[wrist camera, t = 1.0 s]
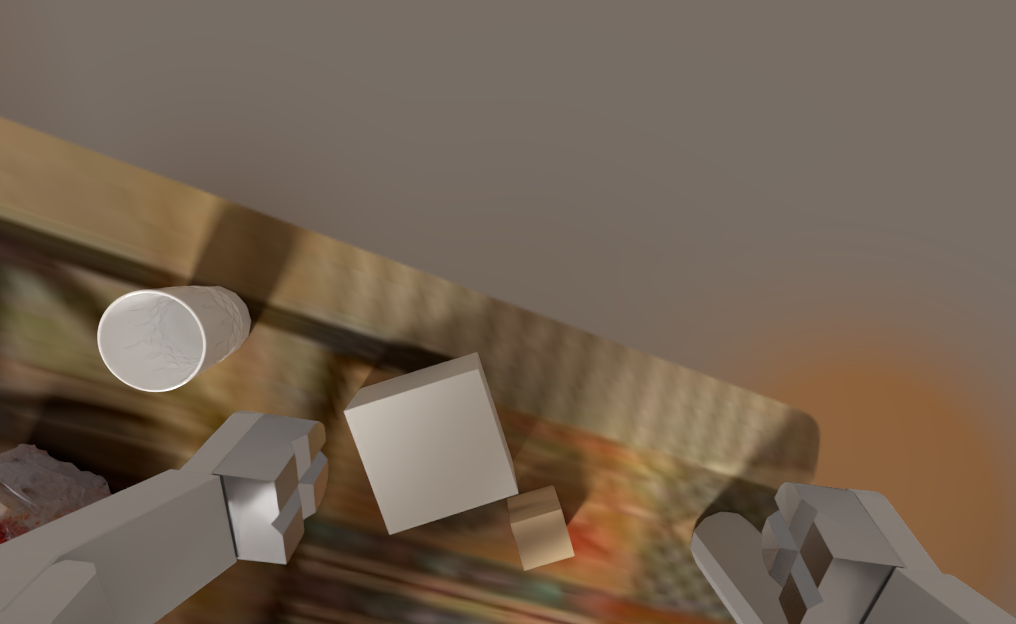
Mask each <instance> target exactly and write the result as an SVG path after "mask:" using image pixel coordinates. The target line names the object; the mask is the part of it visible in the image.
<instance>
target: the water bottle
mask: <svg viewBox="0 0 1016 624" xmlns="http://www.w3.org/2000/svg"><path fill="white" fill-rule="evenodd" d="M761 542H762V534H761V533H760V532H759V531H758V530H757V529H756V528H755V527H754V526H753V525H752V524H751V523H750V522H749V521H747V520H746V519H745V518H743V517H742V516H741V515H740V514H738V513H730V512H718V513H716V514H713V515H711V516H708V517H706V518H704V520H703V521H702V522H701V523H700V524H699V525H698V526H697V528H696V529H695V530H694V533H693V537H692V542H691V547H690V548H691V551H692V554H693V557H694V559H695V562H696V564H697V565H698V567H699V568H700V570H701V571H702V572H703V574H704V575H705V577H706V578H707V580H708V581H709V583H710V584H711V586H712V587H713V588H714V590H715V591H716V593H717V594H718V596H719V597H720V599H721V600H722V602H723V603H724V604H725V606H726V607H727V609H728V610H729V612H730V613H731V615H732V616H733V618H734V619H735V620H736V622H737V623H738V624H788V622H787V619H786V617H785V614H784V612H783V609H782V607H781V604H780V602H779V599H778V598H779V596H780V594H781V591H782V589H783V587H781V586H780V585H779V584H778V583H777V582H776V581H775V580H774V579H773V578H772V577H771V576H770V575H769V574H768V571H767V569H766V566H765V563H764V560H763V555H762V550H761Z"/></svg>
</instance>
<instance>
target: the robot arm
mask: <svg viewBox="0 0 1016 624" xmlns="http://www.w3.org/2000/svg"><path fill="white" fill-rule="evenodd" d="M325 441H326V435H325V428H324V425H323V424H322V423H321V422H319V421H312V420H306V419H299V418H292V417H286V416H279V415H273V414H263V413H257V412H250V411H243V410H241V411H238V412H235V413H233V414H232V415H231V416H230V417H229V418H228V419H227V420H226V421H225V423H224V424H223V425H222V426H221V427H220V428H219V429H218V430H217V431H216V432H215V433H214V434H213V435H212V436H211V437H210V438H209V439H208V440H207V441H206V442H205V444H204V445H203V446H202V447H201V448H200V449H199V450H198V451H197V452H196V453H195V454H194V455H193V456H192V457H191V458H190V459H189V460H188V461H187V462H186V464H185V465H184V466H183V467H182V468H181V469H180V470H173V469H170V470H167V471H165V472H163V473H161V474H158V475H156V476H154V477H152V478H149V479H147V480H145V481H143V482H140V483H138V484H136V485H133V486H131V487H129V488H127V489H124V490H122V491H120V492H118V493H115V494H113V495H111V496H109V497H106V498H104V499H102V500H100V501H97V502H95V503H93V504H91V505H88V506H86V507H84V508H82V509H79V510H77V511H75V512H72V513H70V514H68V515H66V516H63V517H61V518H59V519H57V520H54V521H52V522H50V523H48V524H45V525H43V526H41V527H39V528H36V529H34V530H32V531H30V532H27V533H25V534H23V535H21V536H18V537H16V538H14V539H11V540H9V541H7V542H5V543H2V544H0V624H154V623H155V622H156V621H158V620H159V619H160V618H162V617H163V616H164V615H166V614H167V613H168V612H170V611H171V610H172V609H174V608H175V607H177V606H178V605H179V604H181V603H182V602H183V601H185V600H186V599H187V598H189V597H190V596H191V595H193V594H194V593H195V592H197V591H198V590H199V589H201V588H202V587H203V586H205V585H206V584H207V583H209V582H210V581H211V580H213V579H214V578H215V577H217V576H218V575H219V574H221V573H222V572H223V571H225V570H226V569H227V568H229V567H230V566H231V565H233V564H234V563H235V562H236V561H237V560H236V559H244V560H252V561H261V562H270V563H279V564H287V563H288V561H289V559H290V557H291V555H292V554H293V552H294V550H295V548H296V546H297V545H298V543H299V541H300V539H301V538H302V536H303V534H304V523H303V520H304V519H305V518H307V517H308V516H310V515H312V514H313V513H315V512H316V510H317V509H318V507H319V505H320V503H321V501H322V499H323V496H324V492H325V489H326V486H327V481H328V471H329V470H328V459H327V458H326V457H325V456H324V455H323V453H322V452H321V451H320V449H321V448H322V446H323V444H324V443H325ZM775 501H776V503H777V505H778V507H779V509H780V510H778V511H776V512H775V513H773V514H772V515H770V516H769V517H767V519H766V522H765V525H764V527H763V530H762V542H761V550H762V555H763V560H764V563H765V566H766V569H767V571H768V574H769V575H770V576H771V577H772V578H773V579H774V580H775V581H776V582H777V583H778V584H779V585H780V586H781V587H783V589H782V591H781V594H780V596H779V598H778V599H779V602H780V604H781V607H782V609H783V612H784V614H785V617H786V619H787V622H788V624H1016V619H1015V618H1014V617H1012V616H1011V615H1009V614H1008V613H1006V612H1005V611H1004V610H1002V609H1001V608H999V607H998V606H996V605H995V604H993V603H992V602H991V601H989V600H988V599H986V598H985V597H983V596H982V595H980V594H979V593H977V592H976V591H975V590H973V589H972V588H970V587H969V586H967V585H966V584H964V583H963V582H962V581H960V580H959V579H957V578H956V577H954V576H953V575H947V574H942V573H941V572H940V570H939V569H938V567H937V566H936V565H935V564H934V562H933V561H932V559H931V558H930V557H929V555H928V554H927V553H926V551H925V550H924V549H923V547H922V546H921V544H920V543H919V542H918V540H917V539H916V538H915V536H914V535H913V534H912V532H911V531H910V530H909V528H908V527H907V526H906V524H905V523H904V522H903V520H902V519H901V518H900V516H899V515H898V514H897V512H896V511H895V509H894V508H893V507H892V506H891V504H890V503H889V501H888V500H887V499H886V498H885V497H884V496H883V495H881V494H880V493H878V492H873V491H863V490H854V489H839V488H832V487H824V486H816V485H807V484H799V483H791V482H784V483H783V484H782V485H781V486H780V487H779V489H778V492H777V494H776V496H775Z"/></svg>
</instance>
